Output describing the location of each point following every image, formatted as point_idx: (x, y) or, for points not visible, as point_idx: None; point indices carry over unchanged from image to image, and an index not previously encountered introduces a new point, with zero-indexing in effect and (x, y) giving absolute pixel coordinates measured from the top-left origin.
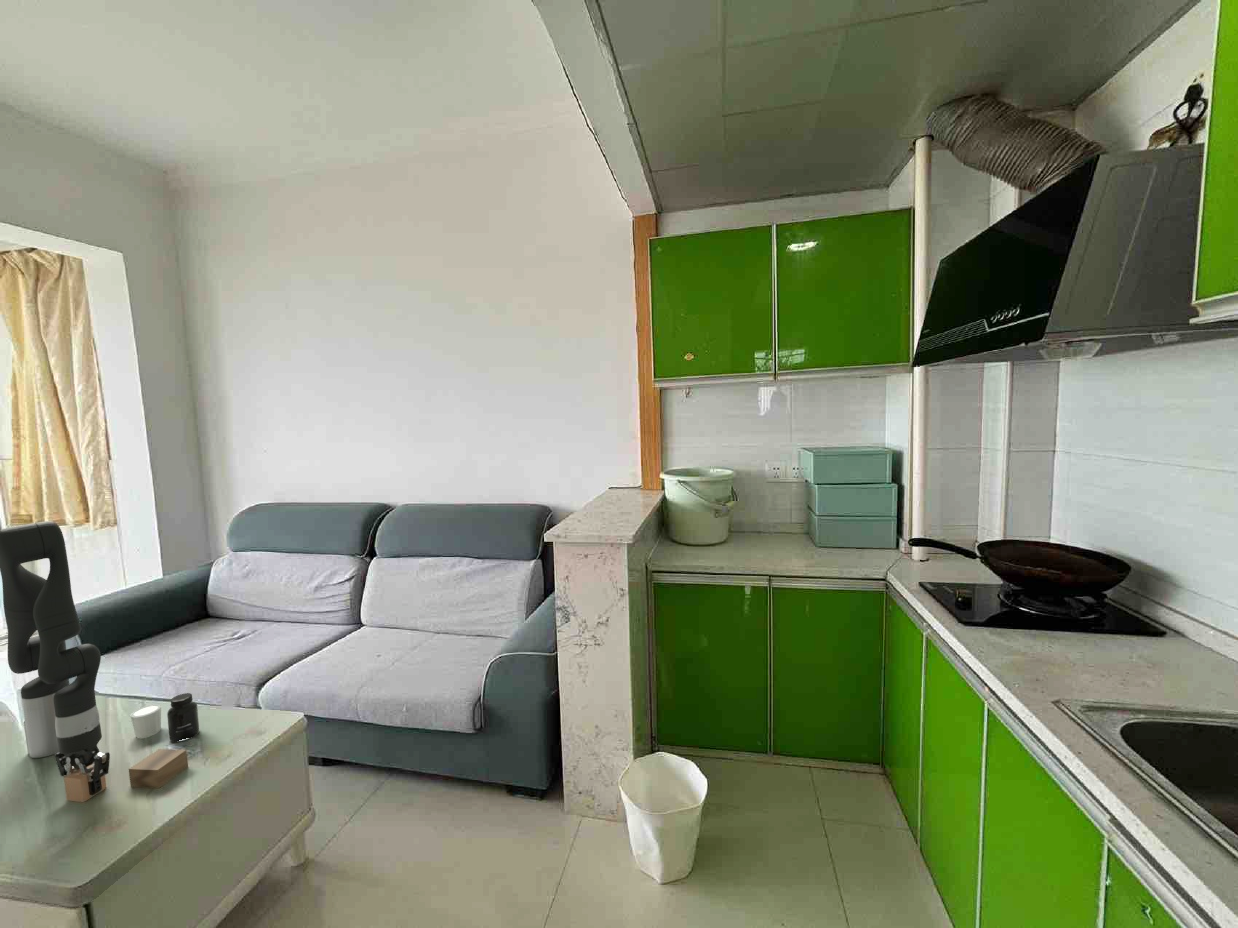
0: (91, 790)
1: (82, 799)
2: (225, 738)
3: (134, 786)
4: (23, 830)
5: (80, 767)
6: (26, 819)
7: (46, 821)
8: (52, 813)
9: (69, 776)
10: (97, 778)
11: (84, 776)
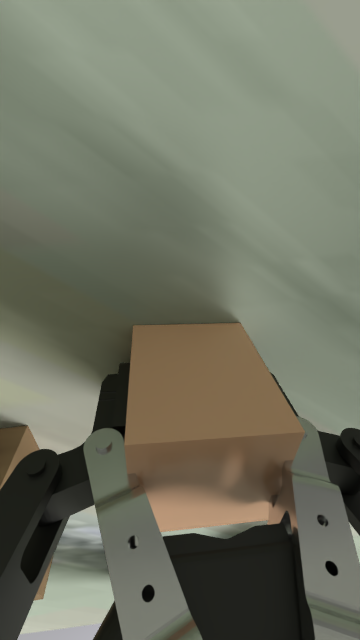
0: (118, 381)
1: (137, 333)
2: None
3: (7, 429)
4: (237, 53)
5: (160, 570)
6: (323, 167)
7: (168, 165)
8: (210, 233)
9: (267, 443)
10: (17, 466)
11: (131, 465)
